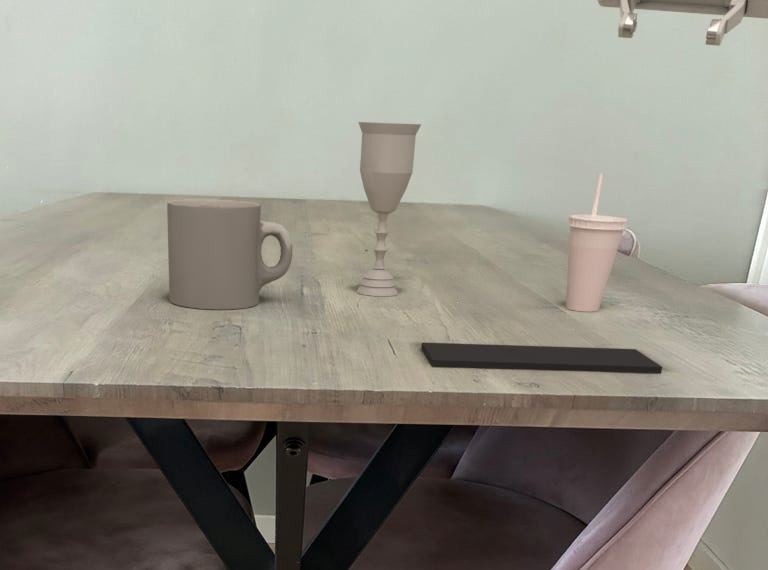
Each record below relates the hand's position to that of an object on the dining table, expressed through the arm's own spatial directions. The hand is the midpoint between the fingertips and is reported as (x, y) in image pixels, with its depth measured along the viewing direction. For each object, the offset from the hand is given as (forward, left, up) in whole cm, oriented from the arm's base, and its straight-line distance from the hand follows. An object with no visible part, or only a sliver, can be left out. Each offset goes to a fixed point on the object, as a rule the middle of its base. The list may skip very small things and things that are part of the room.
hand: (667, 36), depth 103 cm
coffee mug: (+16, +46, -27) cm, 56 cm away
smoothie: (-3, +10, -27) cm, 29 cm away
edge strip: (-20, +35, -27) cm, 48 cm away
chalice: (+15, +26, -27) cm, 40 cm away
